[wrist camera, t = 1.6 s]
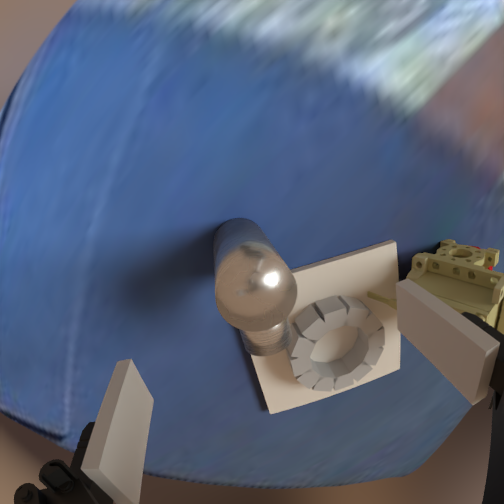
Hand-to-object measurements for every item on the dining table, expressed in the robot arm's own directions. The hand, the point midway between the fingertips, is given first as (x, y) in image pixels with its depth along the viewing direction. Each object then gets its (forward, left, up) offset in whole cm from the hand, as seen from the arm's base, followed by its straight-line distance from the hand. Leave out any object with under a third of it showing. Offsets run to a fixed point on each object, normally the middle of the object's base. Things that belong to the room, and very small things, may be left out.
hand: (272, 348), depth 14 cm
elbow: (+1, 0, -17) cm, 17 cm away
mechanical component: (+10, +23, -18) cm, 31 cm away
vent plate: (+13, +7, -17) cm, 23 cm away
